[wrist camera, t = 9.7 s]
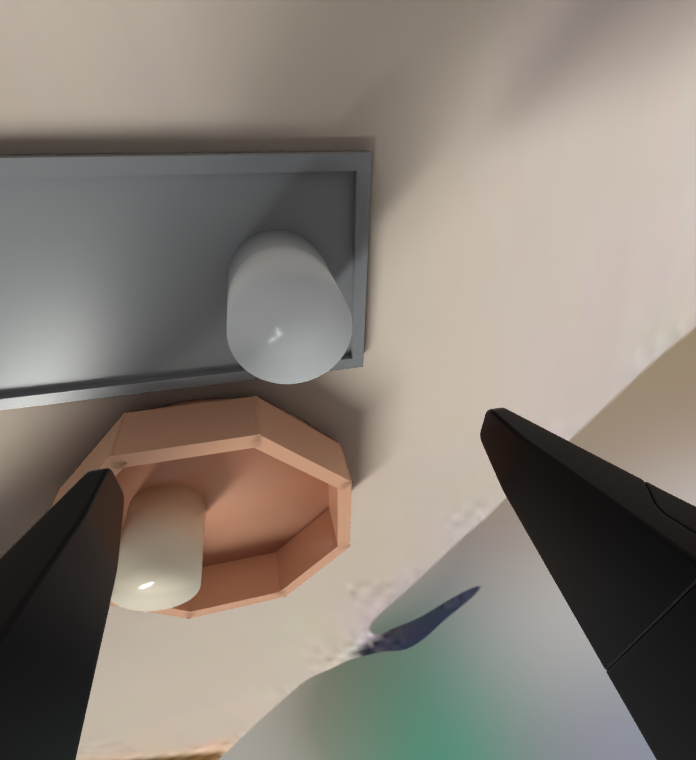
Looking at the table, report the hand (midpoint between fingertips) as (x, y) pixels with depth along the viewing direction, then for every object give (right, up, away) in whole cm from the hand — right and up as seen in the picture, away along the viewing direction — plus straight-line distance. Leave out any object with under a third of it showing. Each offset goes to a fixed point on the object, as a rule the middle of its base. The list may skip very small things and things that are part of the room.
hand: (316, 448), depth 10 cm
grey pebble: (-2, +6, +8) cm, 11 cm away
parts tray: (-7, +6, +8) cm, 12 cm away
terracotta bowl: (-8, -6, +16) cm, 18 cm away
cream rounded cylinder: (-10, -6, +15) cm, 19 cm away
